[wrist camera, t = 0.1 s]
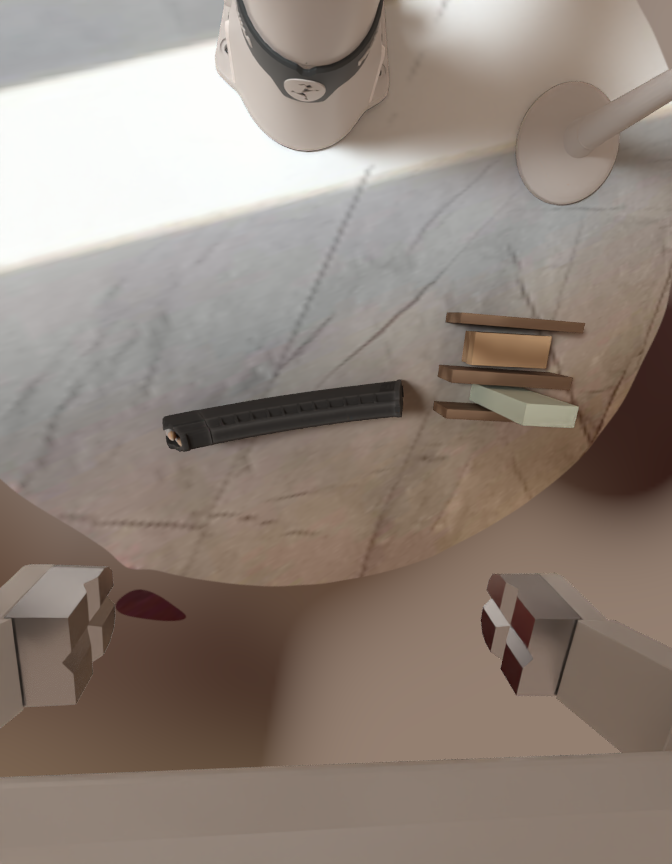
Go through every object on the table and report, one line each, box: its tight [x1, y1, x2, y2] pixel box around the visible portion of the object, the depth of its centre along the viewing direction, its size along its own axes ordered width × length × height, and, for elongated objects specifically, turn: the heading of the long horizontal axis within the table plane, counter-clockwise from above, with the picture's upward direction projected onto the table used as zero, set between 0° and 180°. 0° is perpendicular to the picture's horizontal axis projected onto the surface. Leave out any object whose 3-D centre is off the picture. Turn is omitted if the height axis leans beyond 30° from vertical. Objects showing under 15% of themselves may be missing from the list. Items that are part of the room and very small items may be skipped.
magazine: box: [163, 380, 404, 452], centre depth 52 cm, size 17×3×30 cm
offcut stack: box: [462, 331, 552, 369], centre depth 56 cm, size 4×11×4 cm, turn 87°
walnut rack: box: [433, 313, 585, 422], centre depth 56 cm, size 13×16×5 cm
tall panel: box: [469, 384, 579, 428], centre depth 53 cm, size 2×6×14 cm, turn 86°
